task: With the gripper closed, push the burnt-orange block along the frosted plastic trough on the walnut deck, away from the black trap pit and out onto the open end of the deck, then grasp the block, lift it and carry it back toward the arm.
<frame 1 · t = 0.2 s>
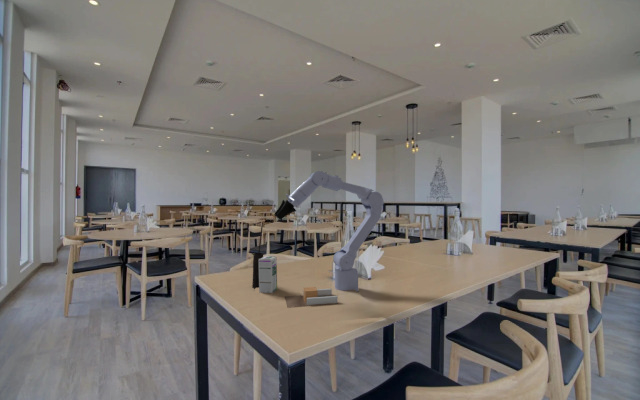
hand: (276, 216, 118), 31 cm above the table, tool tilted 45°, fingers open, 7 cm apart
butter churn: (255, 287, 129), on the table
trough walls: (319, 296, 110), on the deck, point 2 cm above the table
syrup box: (268, 293, 121), on the table
block: (310, 299, 109), point 1 cm above the table, touching deck
deck: (310, 302, 109), on the table
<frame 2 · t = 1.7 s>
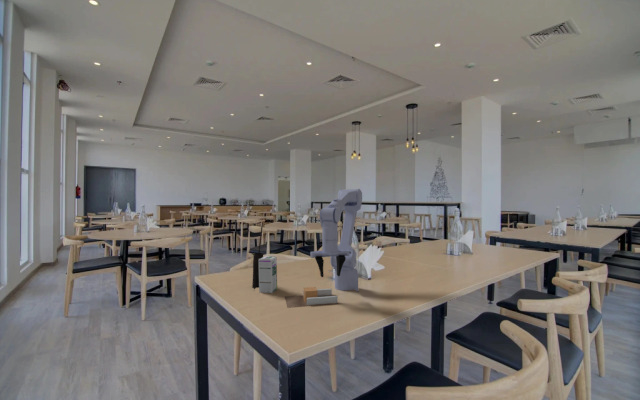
hand: (330, 276, 111), 9 cm above the table, tool pointing down, fingers open, 6 cm apart
nothing on the table moved.
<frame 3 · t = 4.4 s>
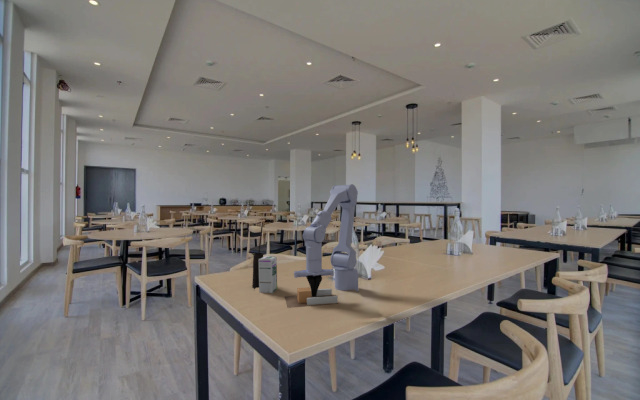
hand: (314, 295, 109), 2 cm above the table, tool pointing down, fingers closed
block: (304, 300, 109), point 1 cm above the table, touching deck, gripper
everything else where it was.
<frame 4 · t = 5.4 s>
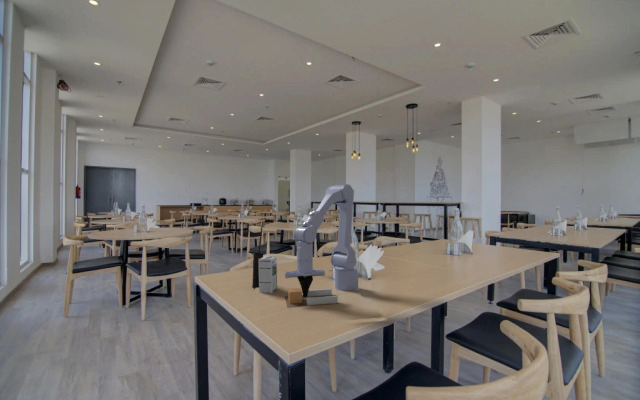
hand: (305, 296, 109), 2 cm above the table, tool pointing down, fingers closed
block: (295, 301, 108), point 1 cm above the table, touching deck, gripper
everything else where it was.
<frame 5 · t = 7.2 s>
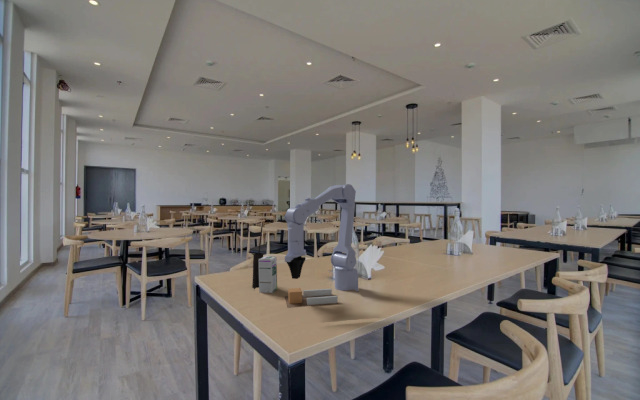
hand: (296, 277, 108), 9 cm above the table, tool pointing down, fingers closed
block: (295, 301, 108), point 1 cm above the table, touching deck
everything else where it was.
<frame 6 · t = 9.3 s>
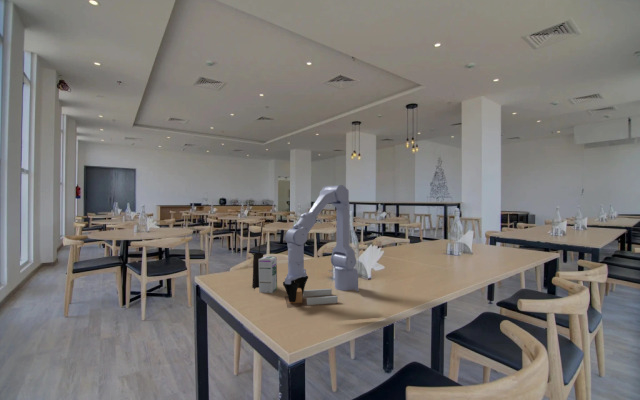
hand: (296, 298, 108), 2 cm above the table, tool pointing down, fingers closed on block, 6 cm apart
block: (295, 300, 108), point 1 cm above the table, touching deck, gripper
everything else where it was.
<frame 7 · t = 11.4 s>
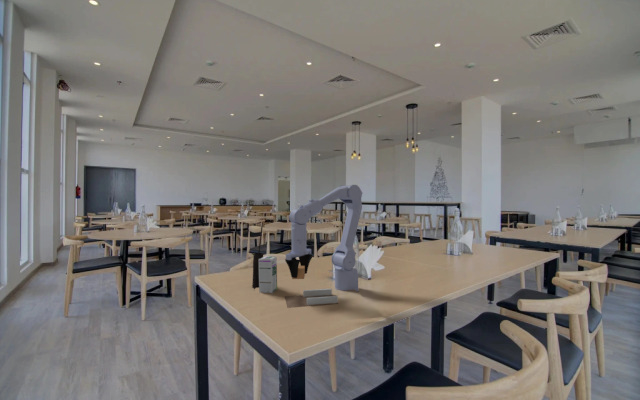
hand: (299, 275, 114), 9 cm above the table, tool pointing down, fingers closed on block, 6 cm apart
block: (298, 277, 114), point 8 cm above the table, touching gripper
everything else where it was.
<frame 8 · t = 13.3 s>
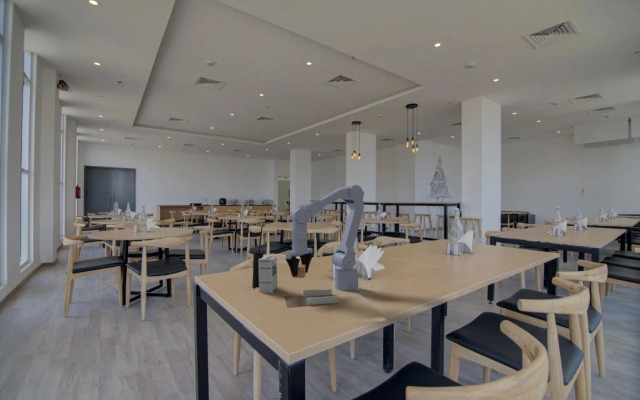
hand: (299, 274, 115), 9 cm above the table, tool pointing down, fingers closed on block, 6 cm apart
block: (299, 276, 116), point 8 cm above the table, touching gripper
everything else where it was.
at the end: the gripper is holding block; block point 8.1 cm above the table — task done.
